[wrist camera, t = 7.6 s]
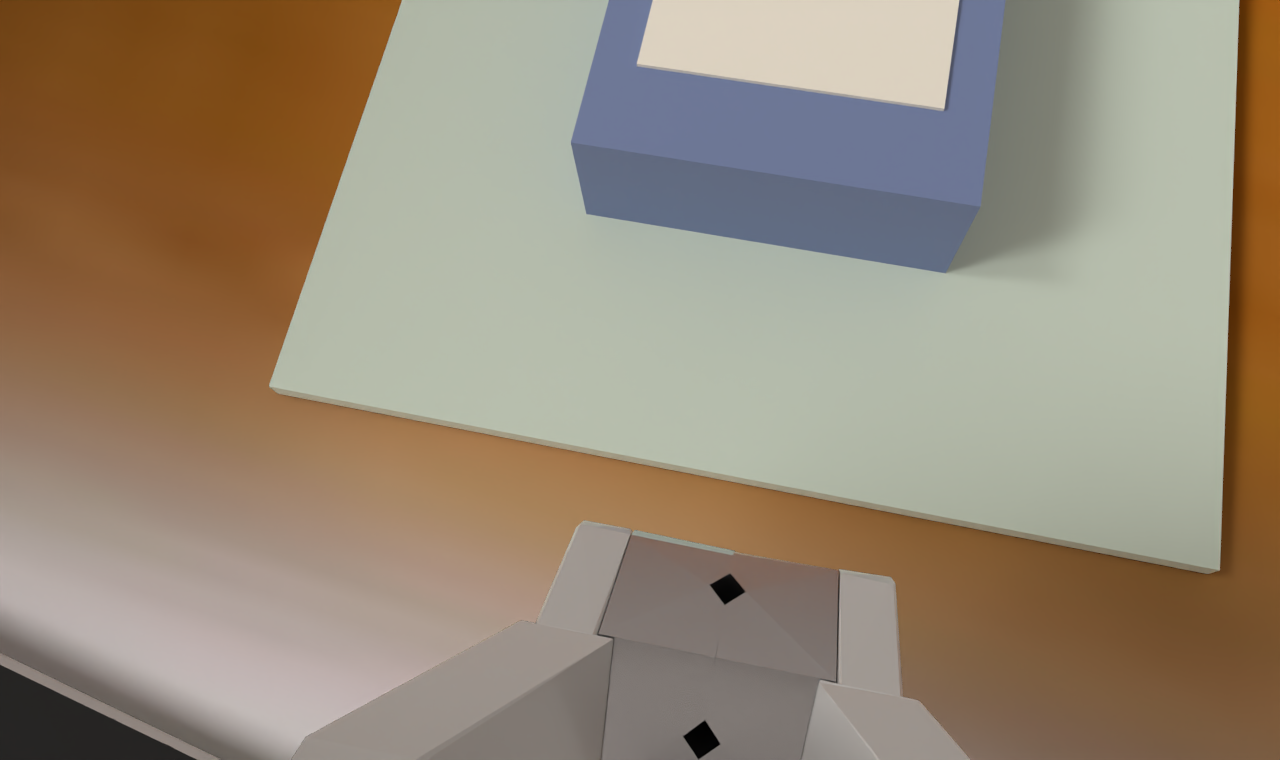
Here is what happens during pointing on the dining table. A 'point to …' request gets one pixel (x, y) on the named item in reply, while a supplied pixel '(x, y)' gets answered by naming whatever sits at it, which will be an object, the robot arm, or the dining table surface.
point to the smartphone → (74, 724)
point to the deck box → (794, 122)
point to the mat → (810, 288)
